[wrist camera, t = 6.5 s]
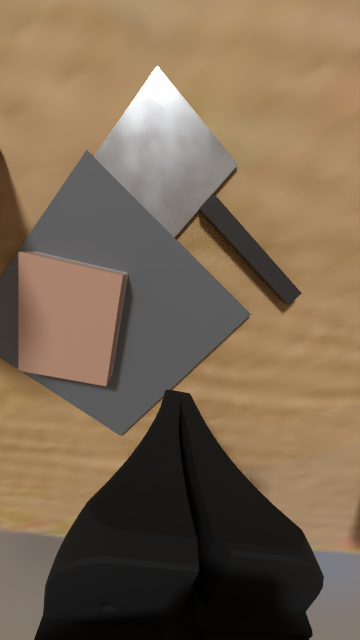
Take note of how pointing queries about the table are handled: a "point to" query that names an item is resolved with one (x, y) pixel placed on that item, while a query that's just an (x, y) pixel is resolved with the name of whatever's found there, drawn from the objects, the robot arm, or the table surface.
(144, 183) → the turner
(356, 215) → the table surface
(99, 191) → the mat
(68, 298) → the tile
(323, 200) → the table surface
